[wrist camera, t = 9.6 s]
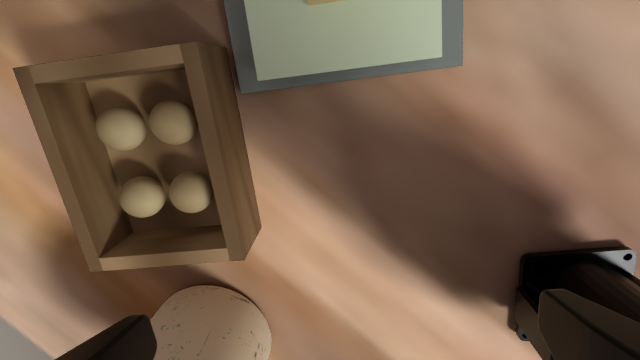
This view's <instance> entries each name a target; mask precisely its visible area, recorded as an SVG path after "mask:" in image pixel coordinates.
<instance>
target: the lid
mask: <svg viewBox="0 0 640 360" xmlns="http://www.w3.org/2000/svg"><path fill="white" fill-rule="evenodd" d="M244 4H245V10H246V16H247V22H248V27H249V33H250V39H251V45H252V51H253V57H254V62H255V68H256V74H257V80H258V81H263V80H271V79H278V78H286V77H294V76H301V75H309V74H317V73H324V72H332V71H340V70H348V69H355V68H363V67H371V66H378V65H386V64H394V63H401V62H409V61H417V60H425V59H432V58H439V57H442V0H244Z"/></svg>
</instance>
